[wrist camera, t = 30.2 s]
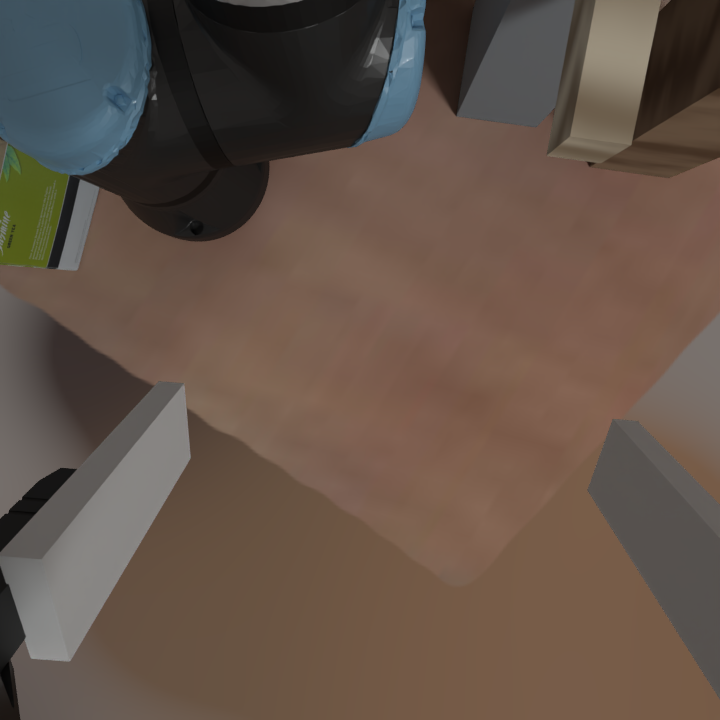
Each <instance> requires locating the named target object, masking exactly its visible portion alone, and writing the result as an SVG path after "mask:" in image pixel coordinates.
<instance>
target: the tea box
mask: <svg viewBox="0 0 720 720" xmlns="http://www.w3.org/2000/svg"><path fill="white" fill-rule="evenodd" d="M98 192H99V187H97V186H95V185H93V184H90V183H88V182H85V181H83V180H81V179H78V178H76V177H73V176H71V175H68V174H66V173H64V174H61V173H59V172H55V171H52V170H50V169H48V168H46V167H44V166H43V165H41V164H40V163H39V162H38V161H37V160H36V159H34V158H32V157H30V156H29V155H27V154H25V153H23V152H21V151H19V150H18V149H16V148H14V147H13V146H11V145H10V144H9V143H7V142H6V141H5V140H3V139H2V138H1V137H0V265H10V266H25V267H36V268H47V269H48V268H49V269H61V270H77V269H78V267H79V263H80V260H81V256H82V253H83V249H84V245H85V241H86V238H87V234H88V230H89V226H90V223H91V219H92V215H93V211H94V207H95V204H96V200H97V196H98Z"/></svg>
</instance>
